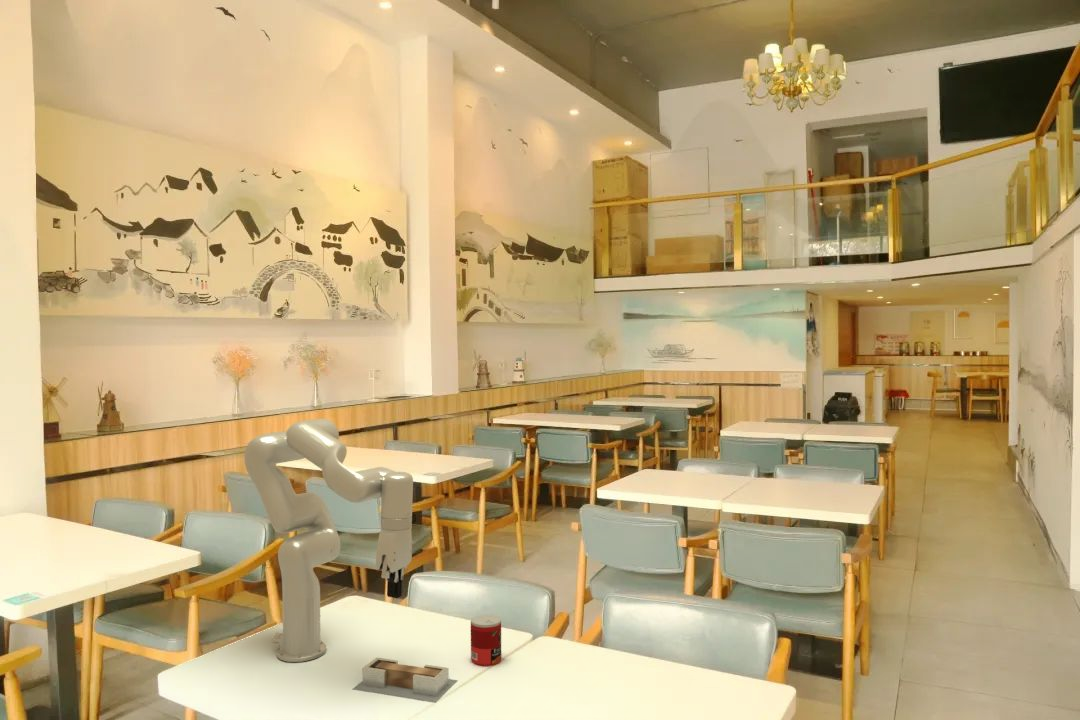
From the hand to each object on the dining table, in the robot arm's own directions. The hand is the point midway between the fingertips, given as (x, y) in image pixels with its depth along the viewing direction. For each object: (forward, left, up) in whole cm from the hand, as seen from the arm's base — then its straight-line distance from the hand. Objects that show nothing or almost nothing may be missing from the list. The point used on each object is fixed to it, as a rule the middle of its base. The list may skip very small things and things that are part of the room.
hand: (394, 596), depth 183 cm
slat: (+6, -4, -20) cm, 21 cm away
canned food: (+18, +15, -20) cm, 31 cm away
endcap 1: (-2, -4, -20) cm, 20 cm away
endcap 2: (+12, -4, -20) cm, 23 cm away
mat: (+5, -4, -20) cm, 21 cm away
